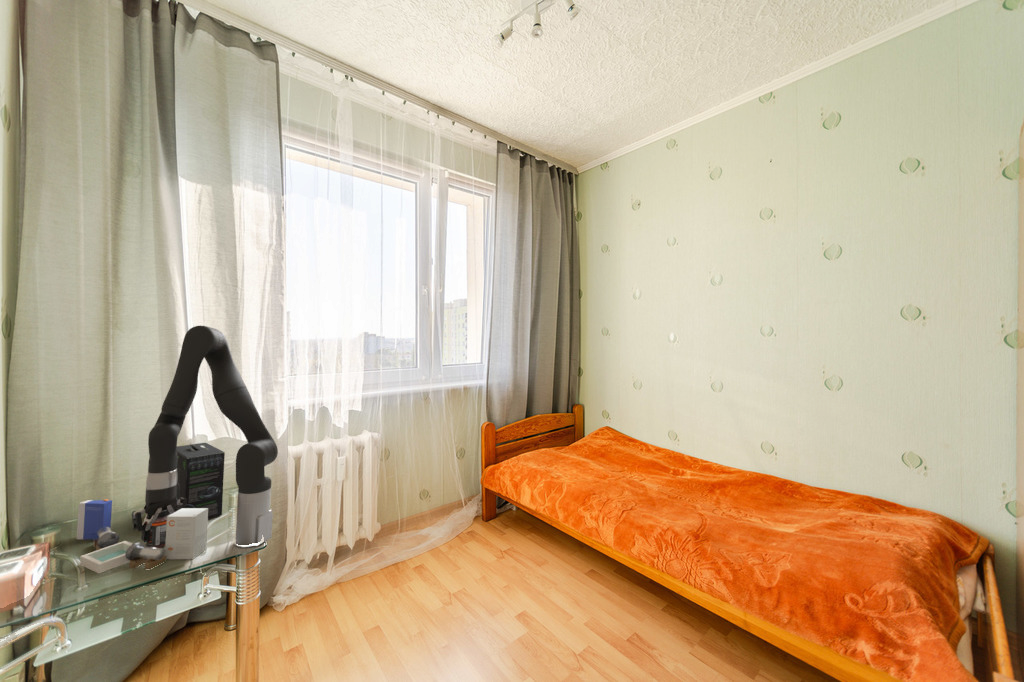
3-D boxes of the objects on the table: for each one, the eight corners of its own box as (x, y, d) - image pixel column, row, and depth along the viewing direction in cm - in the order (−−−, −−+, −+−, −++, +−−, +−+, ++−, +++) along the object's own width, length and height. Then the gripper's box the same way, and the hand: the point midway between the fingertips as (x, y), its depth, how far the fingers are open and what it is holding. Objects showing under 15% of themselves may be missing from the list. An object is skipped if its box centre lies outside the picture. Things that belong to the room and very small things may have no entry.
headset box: (165, 508, 152) (169, 441, 152) (203, 499, 161) (207, 436, 162) (182, 526, 138) (186, 453, 138) (223, 516, 148) (226, 447, 148)
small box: (206, 549, 125) (209, 507, 125) (192, 559, 118) (195, 516, 118) (179, 549, 124) (181, 507, 124) (163, 560, 117) (166, 516, 118)
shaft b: (92, 545, 124) (93, 526, 124) (113, 539, 127) (114, 521, 127) (97, 555, 118) (98, 535, 118) (118, 549, 122) (119, 530, 122)
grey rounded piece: (167, 562, 116) (168, 542, 117) (151, 570, 112) (152, 550, 112) (141, 558, 117) (142, 539, 118) (124, 567, 113) (125, 547, 113)
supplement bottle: (142, 546, 124) (144, 510, 124) (165, 538, 130) (167, 504, 130) (150, 551, 121) (153, 515, 122) (174, 543, 127) (176, 508, 127)
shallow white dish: (143, 556, 119) (143, 548, 119) (98, 573, 110) (99, 564, 110) (124, 548, 123) (125, 540, 123) (80, 564, 113) (80, 555, 113)
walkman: (110, 535, 130) (112, 499, 130) (102, 539, 127) (104, 502, 127) (85, 535, 130) (87, 498, 130) (76, 539, 127) (78, 502, 127)
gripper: (180, 475, 134) (177, 525, 134) (126, 489, 120) (123, 544, 120) (194, 479, 131) (191, 530, 131) (140, 493, 118) (137, 550, 117)
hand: (159, 536), depth 126 cm, fingers closed on supplement bottle, 6 cm apart
